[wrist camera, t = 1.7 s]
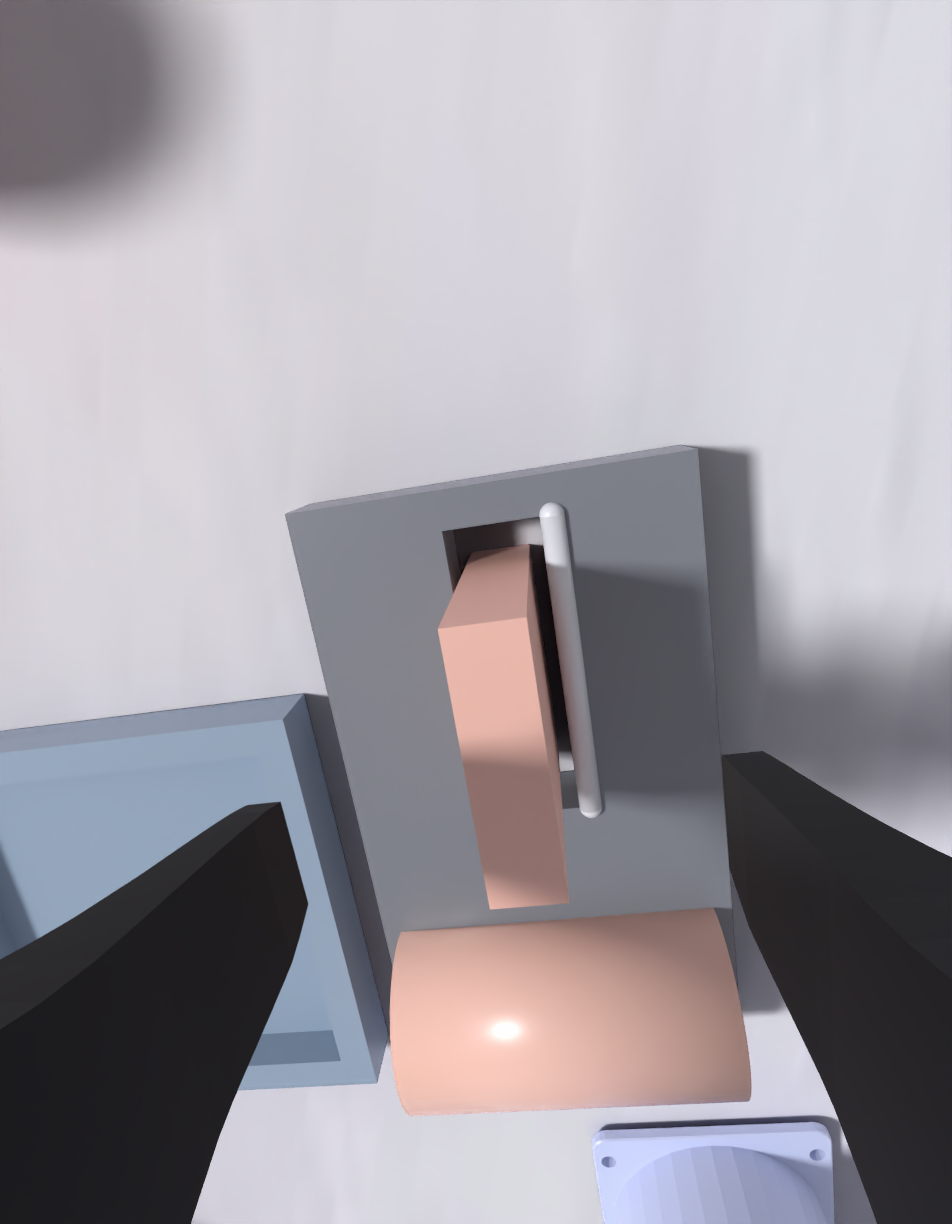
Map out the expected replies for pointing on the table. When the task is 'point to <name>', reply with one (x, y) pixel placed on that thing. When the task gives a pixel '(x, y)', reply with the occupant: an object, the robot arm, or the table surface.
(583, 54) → the table surface
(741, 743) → the table surface
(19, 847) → the tray
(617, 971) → the slotted grey platform
